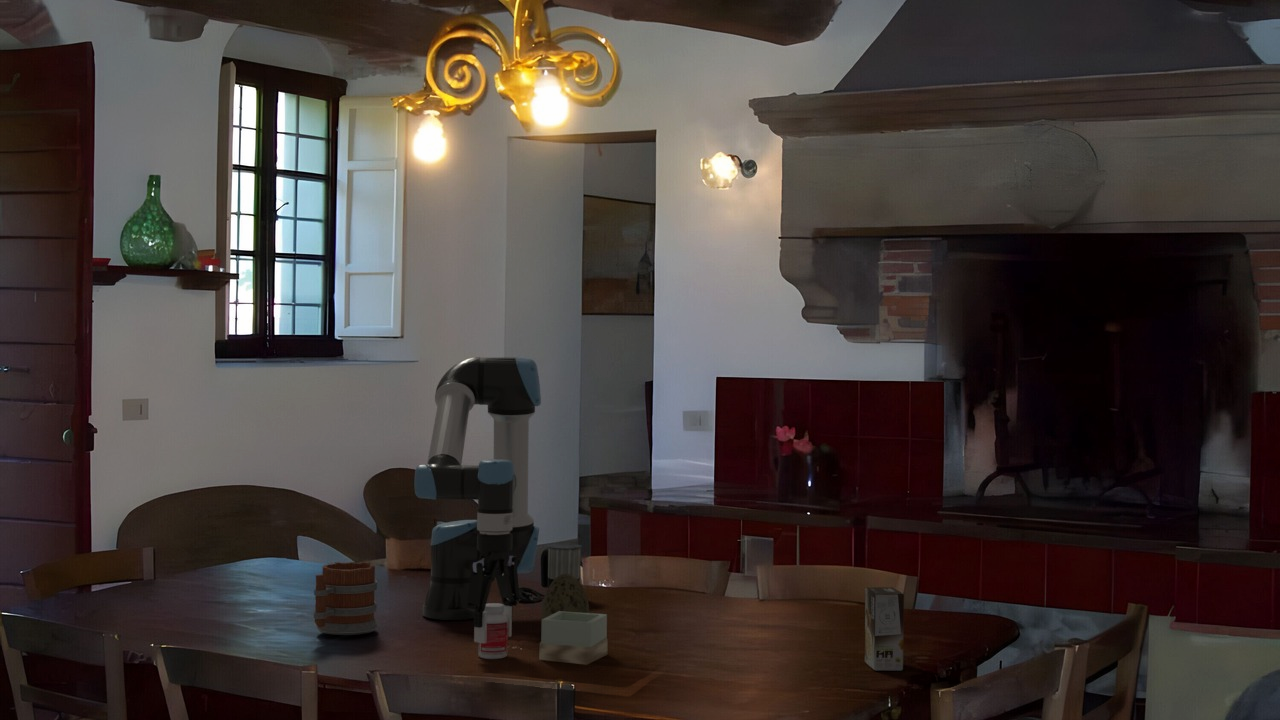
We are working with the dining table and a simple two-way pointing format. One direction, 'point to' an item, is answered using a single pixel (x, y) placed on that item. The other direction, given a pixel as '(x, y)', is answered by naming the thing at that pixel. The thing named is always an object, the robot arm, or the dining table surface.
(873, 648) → the coffee box
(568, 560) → the milk frother
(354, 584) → the mug
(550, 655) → the tower base
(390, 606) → the dining table surface
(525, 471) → the robot arm
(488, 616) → the pill bottle
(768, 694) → the dining table surface
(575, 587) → the decorative egg
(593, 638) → the tower top
